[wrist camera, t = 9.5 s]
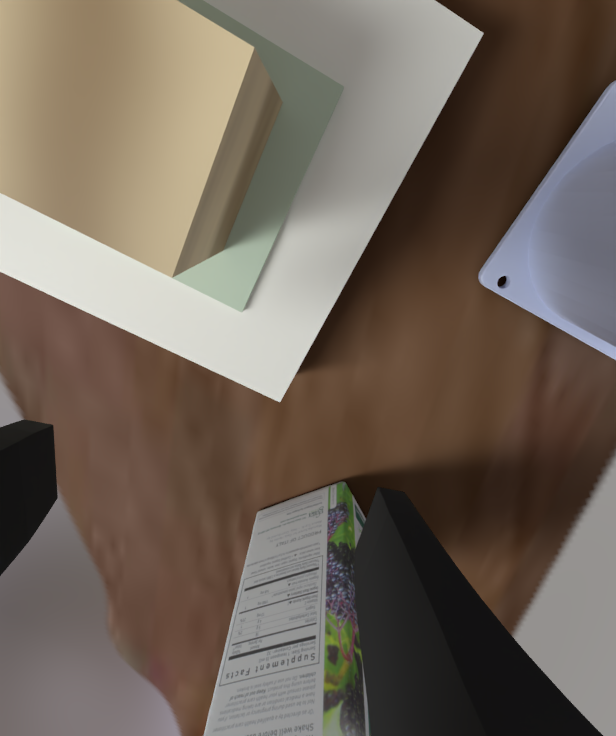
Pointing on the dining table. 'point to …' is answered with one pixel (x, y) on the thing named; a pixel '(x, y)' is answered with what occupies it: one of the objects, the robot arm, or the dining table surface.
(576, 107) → the dining table surface
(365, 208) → the base plinth
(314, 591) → the syrup box
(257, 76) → the birch block
